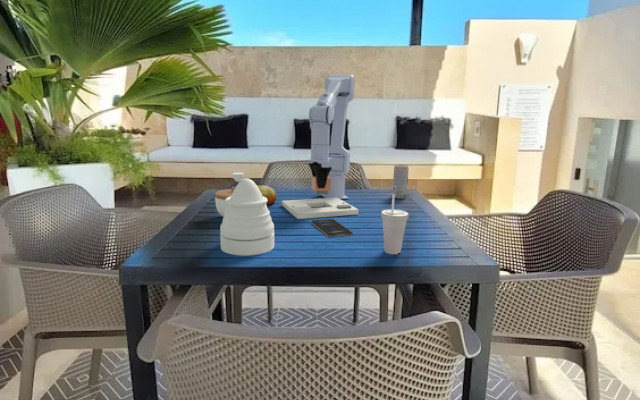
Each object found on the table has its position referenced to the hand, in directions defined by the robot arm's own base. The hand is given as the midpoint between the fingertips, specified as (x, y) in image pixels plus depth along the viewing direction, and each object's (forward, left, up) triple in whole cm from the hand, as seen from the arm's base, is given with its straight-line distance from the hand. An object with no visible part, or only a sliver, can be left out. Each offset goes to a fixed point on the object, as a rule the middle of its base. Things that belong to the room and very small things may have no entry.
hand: (319, 186), depth 139 cm
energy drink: (-10, +36, -8) cm, 38 cm away
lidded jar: (+2, -28, -8) cm, 29 cm away
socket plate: (0, 0, -8) cm, 8 cm away
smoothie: (+43, +3, -8) cm, 44 cm away
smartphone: (+21, -4, -8) cm, 23 cm away
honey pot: (+29, -29, -8) cm, 42 cm away
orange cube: (0, +1, -2) cm, 2 cm away
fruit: (-14, -16, -8) cm, 23 cm away
